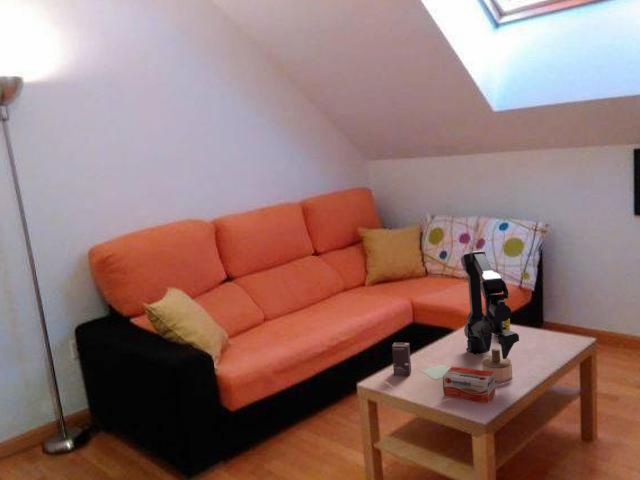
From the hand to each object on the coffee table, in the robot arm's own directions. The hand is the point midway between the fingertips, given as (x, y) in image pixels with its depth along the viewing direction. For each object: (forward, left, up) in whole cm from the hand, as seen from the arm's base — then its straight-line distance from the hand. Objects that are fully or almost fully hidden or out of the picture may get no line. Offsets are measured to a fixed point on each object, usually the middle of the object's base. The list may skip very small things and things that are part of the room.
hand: (496, 354), depth 208 cm
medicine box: (+17, +7, -8) cm, 20 cm away
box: (+27, -20, -8) cm, 35 cm away
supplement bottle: (-28, -33, -8) cm, 44 cm away
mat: (+15, -14, -8) cm, 22 cm away
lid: (0, 0, -3) cm, 3 cm away
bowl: (0, 0, -8) cm, 8 cm away
